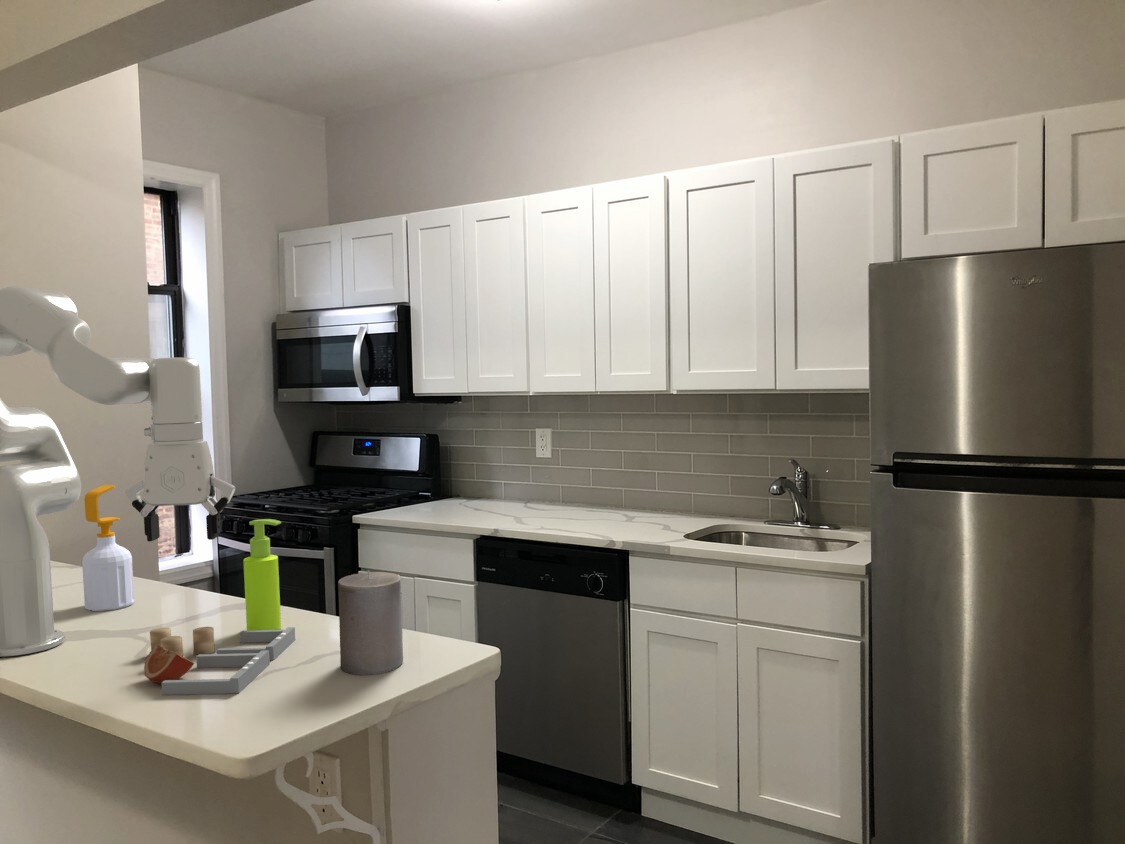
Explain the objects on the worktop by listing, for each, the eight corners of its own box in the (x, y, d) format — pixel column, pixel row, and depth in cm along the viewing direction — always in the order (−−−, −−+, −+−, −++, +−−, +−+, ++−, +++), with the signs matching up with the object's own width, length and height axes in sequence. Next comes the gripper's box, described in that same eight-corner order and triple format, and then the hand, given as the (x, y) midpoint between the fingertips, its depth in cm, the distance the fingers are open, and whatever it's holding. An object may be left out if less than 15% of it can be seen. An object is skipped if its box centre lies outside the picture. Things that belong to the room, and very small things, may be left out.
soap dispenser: (276, 635, 160) (270, 522, 159) (240, 634, 161) (235, 522, 160) (292, 625, 166) (287, 517, 164) (257, 624, 167) (252, 517, 166)
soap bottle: (143, 603, 186) (137, 484, 184) (100, 614, 178) (93, 489, 176) (118, 598, 190) (111, 482, 189) (75, 608, 183) (68, 487, 181)
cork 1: (148, 657, 149) (146, 633, 149) (156, 651, 152) (154, 628, 152) (167, 656, 149) (166, 632, 149) (175, 650, 152) (173, 627, 152)
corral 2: (217, 661, 146) (216, 647, 146) (242, 640, 157) (241, 627, 157) (273, 659, 146) (273, 645, 146) (295, 639, 157) (294, 626, 157)
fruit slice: (137, 679, 138) (135, 647, 138) (181, 668, 143) (180, 637, 143) (156, 692, 132) (154, 659, 132) (202, 681, 137) (200, 648, 137)
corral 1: (162, 694, 131) (161, 679, 131) (199, 665, 144) (198, 651, 144) (238, 693, 131) (238, 677, 131) (269, 664, 144) (268, 649, 144)
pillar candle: (330, 664, 143) (326, 570, 142) (387, 650, 149) (383, 560, 148) (357, 680, 135) (353, 581, 134) (415, 665, 141) (412, 571, 140)
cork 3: (190, 656, 149) (189, 632, 149) (198, 650, 152) (197, 627, 152) (210, 655, 149) (209, 631, 149) (217, 650, 152) (216, 626, 152)
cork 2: (158, 666, 144) (156, 642, 144) (167, 660, 147) (166, 636, 147) (178, 666, 144) (176, 641, 144) (186, 660, 147) (185, 635, 147)
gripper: (112, 437, 143) (118, 545, 144) (223, 434, 143) (228, 542, 144) (134, 434, 150) (140, 536, 151) (239, 431, 150) (244, 533, 151)
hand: (183, 539), depth 147 cm, fingers open, 9 cm apart
